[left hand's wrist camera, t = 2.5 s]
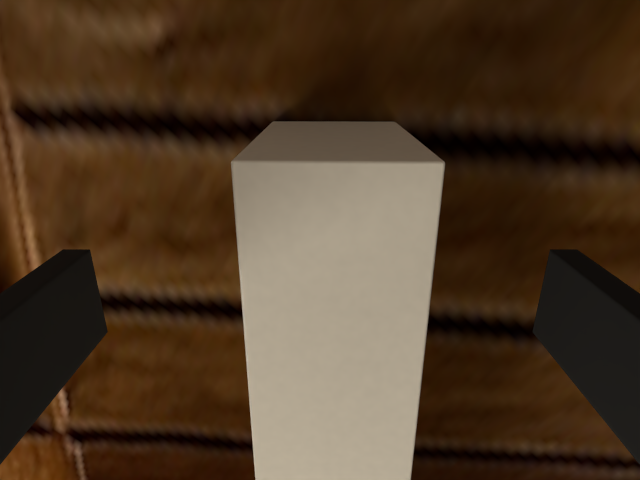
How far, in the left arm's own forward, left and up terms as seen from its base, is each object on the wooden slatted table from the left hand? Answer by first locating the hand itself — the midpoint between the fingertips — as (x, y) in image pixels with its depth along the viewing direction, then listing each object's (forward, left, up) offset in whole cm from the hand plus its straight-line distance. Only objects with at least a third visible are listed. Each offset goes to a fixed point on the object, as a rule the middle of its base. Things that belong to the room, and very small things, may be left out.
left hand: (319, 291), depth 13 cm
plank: (0, +9, -7) cm, 11 cm away
